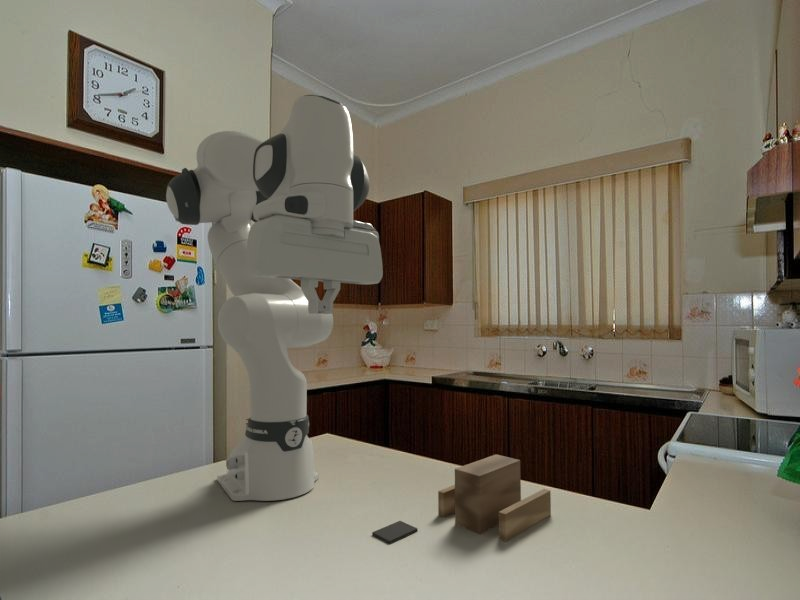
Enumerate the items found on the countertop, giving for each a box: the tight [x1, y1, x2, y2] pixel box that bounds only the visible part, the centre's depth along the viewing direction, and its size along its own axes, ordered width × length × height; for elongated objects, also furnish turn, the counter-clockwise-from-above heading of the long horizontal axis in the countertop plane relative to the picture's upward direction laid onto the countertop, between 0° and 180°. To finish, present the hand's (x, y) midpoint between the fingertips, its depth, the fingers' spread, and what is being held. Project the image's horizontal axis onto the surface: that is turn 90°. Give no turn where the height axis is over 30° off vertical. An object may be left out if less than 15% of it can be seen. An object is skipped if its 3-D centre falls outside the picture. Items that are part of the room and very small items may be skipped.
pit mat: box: [371, 520, 419, 545], centre depth 71 cm, size 4×6×1 cm, turn 134°
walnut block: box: [454, 453, 522, 535], centre depth 77 cm, size 5×12×9 cm, turn 134°
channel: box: [437, 484, 552, 542], centre depth 78 cm, size 13×14×4 cm
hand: (320, 314), depth 62 cm, fingers closed
